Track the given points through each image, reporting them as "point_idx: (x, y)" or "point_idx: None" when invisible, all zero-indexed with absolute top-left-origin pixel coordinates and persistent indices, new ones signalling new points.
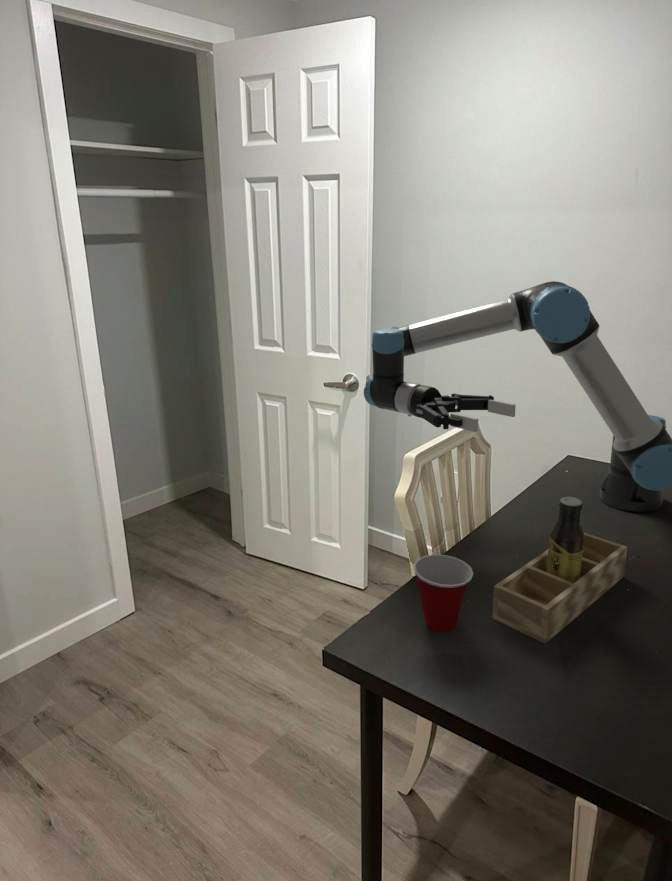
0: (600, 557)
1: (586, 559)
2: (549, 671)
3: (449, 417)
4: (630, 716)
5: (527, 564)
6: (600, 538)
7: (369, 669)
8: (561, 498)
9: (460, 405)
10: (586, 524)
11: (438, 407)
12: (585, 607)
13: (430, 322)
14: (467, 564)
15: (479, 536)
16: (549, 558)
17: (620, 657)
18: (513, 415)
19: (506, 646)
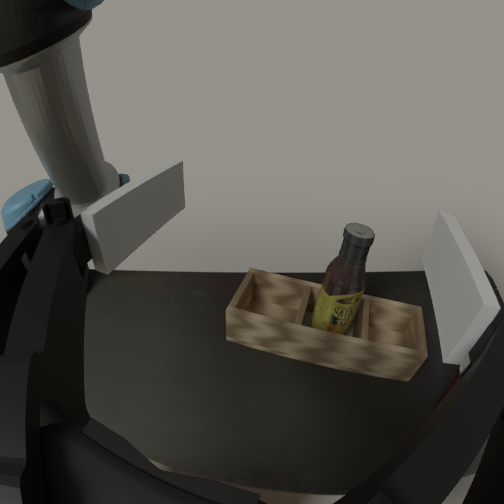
0: (245, 303)
1: (304, 295)
2: (429, 323)
3: (501, 319)
4: (423, 282)
5: (360, 342)
6: (240, 287)
7: None
8: (360, 237)
9: (68, 392)
10: (122, 331)
11: (451, 489)
12: None
13: None
14: (461, 362)
15: (206, 468)
16: (352, 314)
17: (379, 291)
18: (182, 200)
19: (431, 355)
